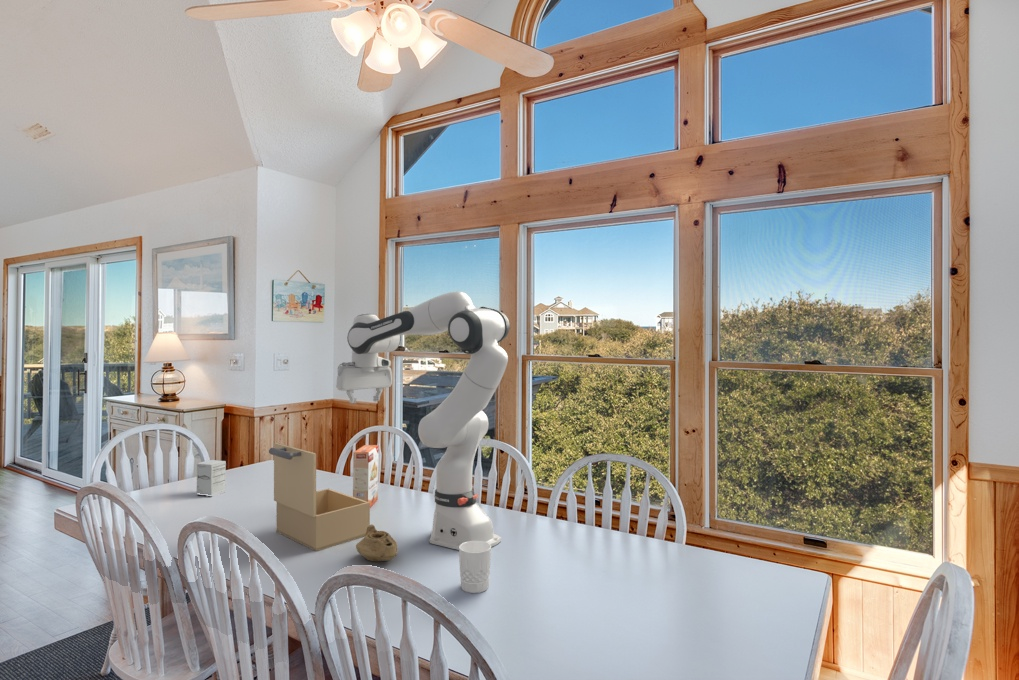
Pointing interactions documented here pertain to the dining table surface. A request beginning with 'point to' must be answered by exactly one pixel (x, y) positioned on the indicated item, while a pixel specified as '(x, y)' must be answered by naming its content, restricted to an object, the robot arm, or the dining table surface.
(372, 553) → the oil lamp
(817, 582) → the dining table surface
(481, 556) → the white cup
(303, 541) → the carton
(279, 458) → the carton lid
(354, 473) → the cracker box
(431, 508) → the dining table surface
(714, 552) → the dining table surface
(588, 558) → the dining table surface
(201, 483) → the supplement box
